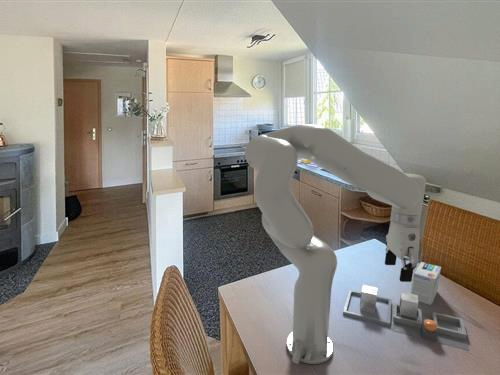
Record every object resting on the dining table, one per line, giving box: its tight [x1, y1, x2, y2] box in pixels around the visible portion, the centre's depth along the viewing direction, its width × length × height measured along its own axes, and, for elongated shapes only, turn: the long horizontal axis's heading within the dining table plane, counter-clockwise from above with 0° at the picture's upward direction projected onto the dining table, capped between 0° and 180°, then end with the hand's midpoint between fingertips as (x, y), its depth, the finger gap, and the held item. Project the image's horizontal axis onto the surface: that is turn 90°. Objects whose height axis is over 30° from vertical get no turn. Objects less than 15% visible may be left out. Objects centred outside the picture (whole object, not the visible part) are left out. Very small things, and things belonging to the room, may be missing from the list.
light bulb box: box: [410, 261, 442, 306], centre depth 110 cm, size 11×7×11 cm, turn 141°
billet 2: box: [399, 291, 419, 321], centre depth 98 cm, size 4×5×7 cm
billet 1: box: [359, 284, 379, 315], centre depth 103 cm, size 4×5×7 cm
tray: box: [342, 289, 393, 327], centre depth 104 cm, size 14×14×2 cm
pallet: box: [391, 302, 470, 352], centre depth 95 cm, size 13×19×4 cm
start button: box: [424, 319, 437, 332], centre depth 90 cm, size 3×3×2 cm
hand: (397, 272), depth 94 cm, fingers open, 9 cm apart
